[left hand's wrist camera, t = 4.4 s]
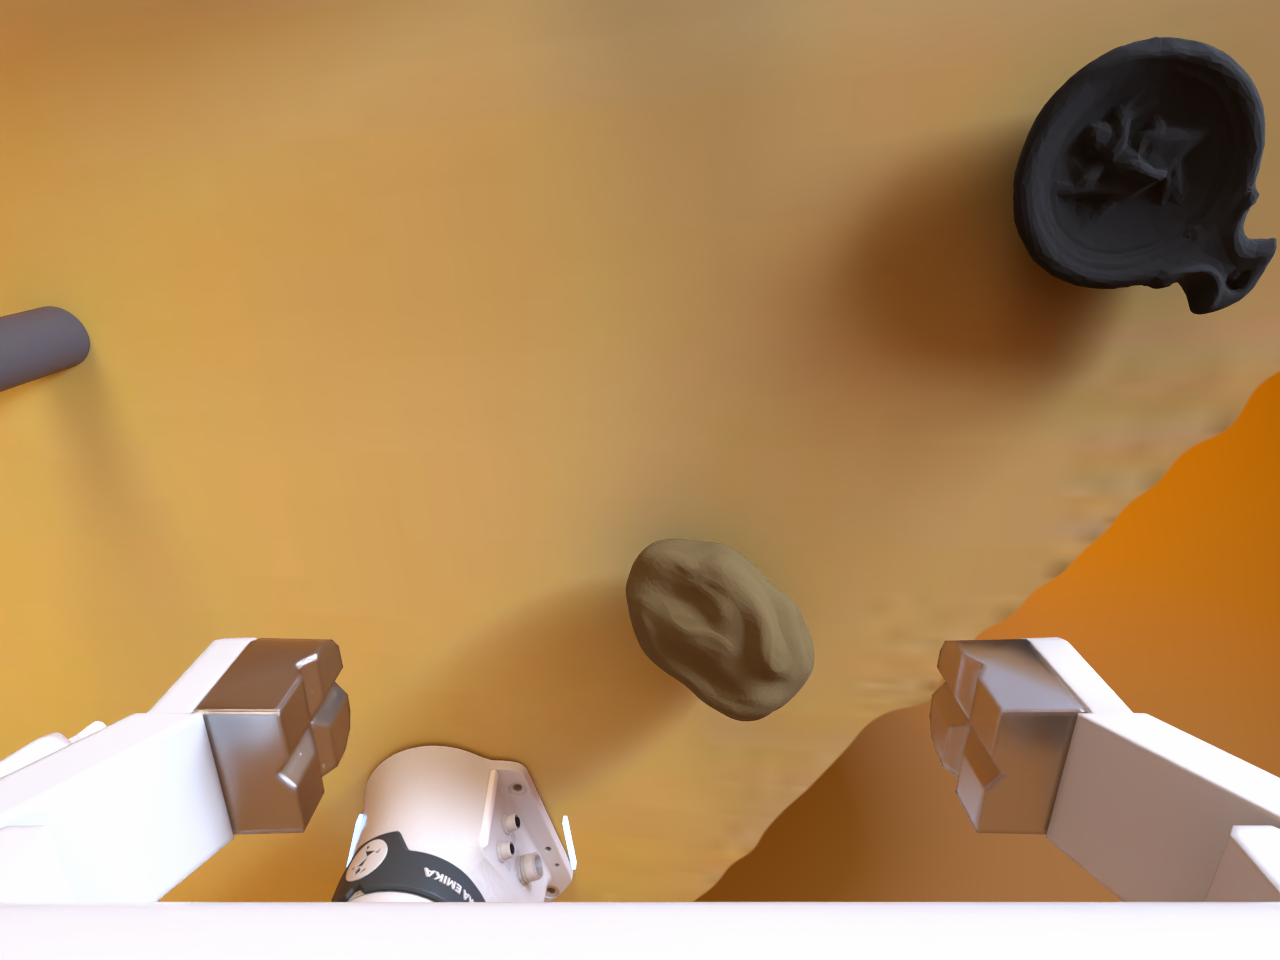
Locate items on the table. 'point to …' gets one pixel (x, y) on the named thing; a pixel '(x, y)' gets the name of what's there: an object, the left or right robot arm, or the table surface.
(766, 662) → the decorative stone
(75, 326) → the jar
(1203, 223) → the oil lamp
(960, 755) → the left robot arm
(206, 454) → the table surface
